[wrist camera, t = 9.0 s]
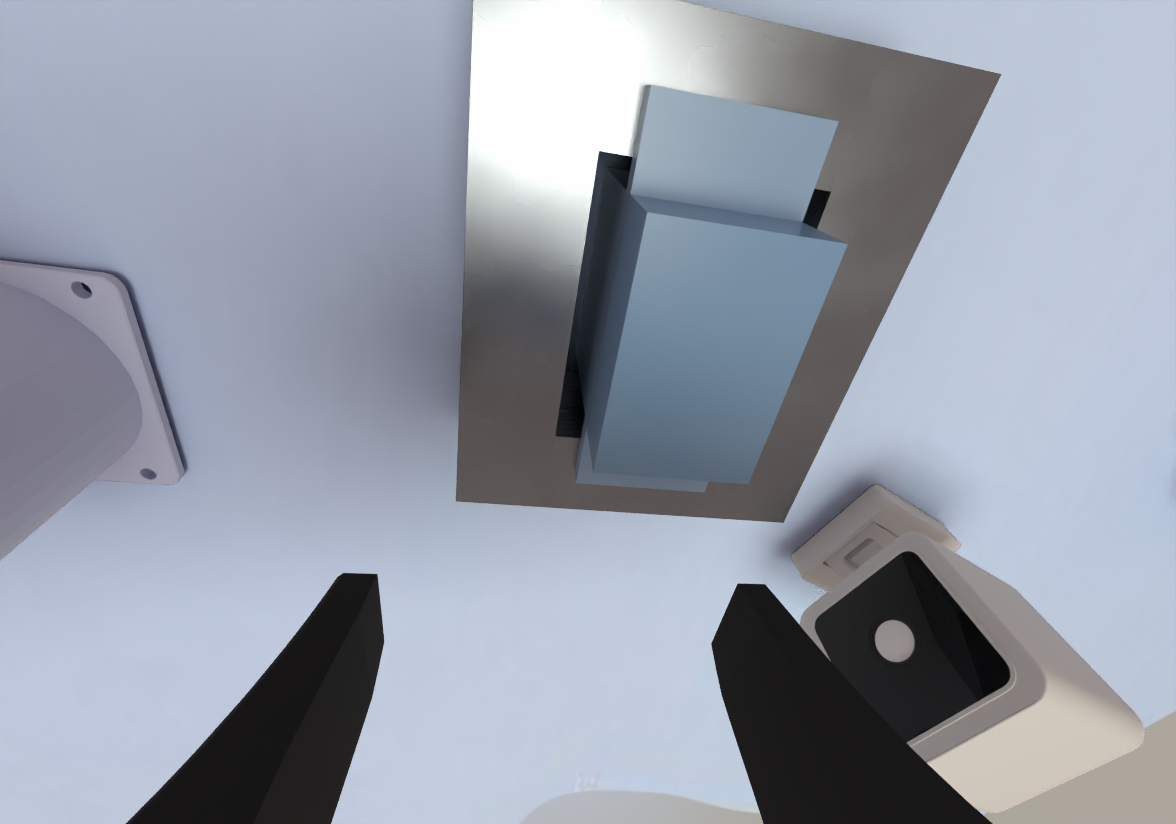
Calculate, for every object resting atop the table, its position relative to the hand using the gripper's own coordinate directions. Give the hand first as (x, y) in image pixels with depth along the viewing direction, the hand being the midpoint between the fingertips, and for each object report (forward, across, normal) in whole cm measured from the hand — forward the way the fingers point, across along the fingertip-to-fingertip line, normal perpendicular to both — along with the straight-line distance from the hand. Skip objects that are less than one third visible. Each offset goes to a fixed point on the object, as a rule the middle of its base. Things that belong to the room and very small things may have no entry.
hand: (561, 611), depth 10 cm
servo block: (+10, -3, -4) cm, 11 cm away
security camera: (+10, -16, +7) cm, 20 cm away
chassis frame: (+10, -3, -4) cm, 11 cm away
